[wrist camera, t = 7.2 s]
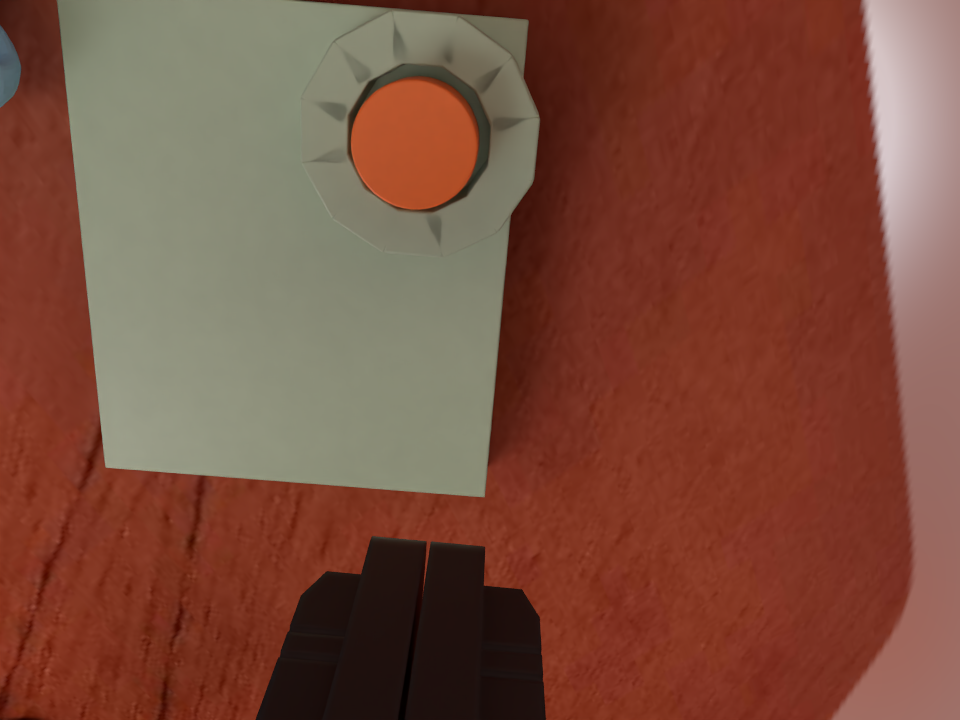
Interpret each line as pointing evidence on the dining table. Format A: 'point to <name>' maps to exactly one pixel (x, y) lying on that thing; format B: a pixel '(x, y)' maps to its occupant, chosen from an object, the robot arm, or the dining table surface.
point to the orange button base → (289, 240)
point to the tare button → (415, 142)
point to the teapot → (8, 68)
